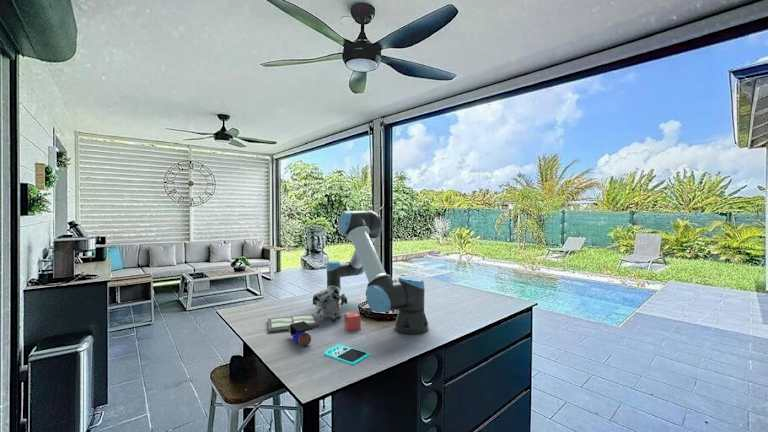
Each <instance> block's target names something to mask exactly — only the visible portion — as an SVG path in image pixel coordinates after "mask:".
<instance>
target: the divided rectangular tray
mask: <svg viewBox="0 0 768 432" xmlns="http://www.w3.org/2000/svg"><path fill="white" fill-rule="evenodd" d="M302 321H305V322H306V323H307V324H309V325H310V326H311V327H313V329H314V328H319V327H320V324H319V321H318V319H317V317H316V316H315V313H308V314H299V315H292V316H290V315H289V316H282V317H273V318H268V319H267V322H268V323H267V324H268V325H267V326H268V329H267V330H268V334H275V333H283V332H289V329H288V326H289V325H290V324H293V323H298V322H302Z"/></svg>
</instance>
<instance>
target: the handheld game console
mask: <svg viewBox="0 0 768 432" xmlns="http://www.w3.org/2000/svg"><path fill="white" fill-rule="evenodd" d="M323 353H324V356H326V357H328V358H331V359H334V360H337V361H339V362H343V363H345V364H349V365H351V366H354V365H356V364H358V363H360V362H361V361H363V360H365V359H367V358H368V357H369V356H371V354H370V353H369V352H365V351H363V350H360V349H356V348H352V347H349V346H346V345H343V344H340V343H338V344H335V345H334V346H332V347H330V348H328V349H326V350H325V351H324V352H323Z"/></svg>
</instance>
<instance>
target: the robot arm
mask: <svg viewBox="0 0 768 432" xmlns="http://www.w3.org/2000/svg"><path fill="white" fill-rule="evenodd" d="M382 230H383V220H382V218H381V216H379V214H378V213H377V212H375V211H373V210H345V211H344V210H343V212H342V213H341V214H340V216H339V219H338V232H339V234H340V235H342V236H346V238H347V240H348V241H349V242H351V243H352V245H353V247H354V249H355V250H354V251H353V254H352V256H351V258H350V261H348V263H347V262H346V263H341V261H340V260H330V261H328V262H326V289H328V288H330V289H333V290H334V293H332V295H331V297H332V298H334V299H337V301H338V304H339V305H338V306H339V310H341V307H342V306H343V305H344V304H345V305H347V304H348V297H346V294H345V293H342V294H341V293H340V292H341V290H342V289H341V287H342V285H341V278H344V277H353V276H359V275H362V274H364V273H365V276H366V279H367V281H368V283H367V286H366V287H367V288H366V291H365V299H366V302H367V305H368V307H369V308H370V309H371V311H373V312H375V313H378V314H379V313H387V312H391V311H395V310H398V312H397V316H396V319H395V322H394V329H395V331H397V332H399V333H402V334H406V335H420V334H423V333H427V331H429V321H428V319H427V315H426V313H425V290H426V288H425V281H424V280H423V279H422V278H419V277H413V276H405V275H404V276H399V277H398V281H394V279H393V278H392V277H393V276H391V275H390V274H387V272H386V270H385V268H384V265H383V264H382V262H381V259H380V257H379V254H378V253H377V250H376V248H375V245H374V242H375V240H376V239H378V238H379V237H380V236H381V233H382ZM321 302H322V301H321ZM321 302H316V301H314V300H313V299H312V305H314V306H316V309H317V310H319V308H321V307H320V303H321Z"/></svg>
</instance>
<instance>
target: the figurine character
mask: <svg viewBox="0 0 768 432" xmlns="http://www.w3.org/2000/svg"><path fill="white" fill-rule="evenodd" d="M288 329H289V331H288V333H289V334H290V337H292V340H295V341H298V344H299V345H301V346H302V347H306V346H308V345H310V344H311V342H312V336H311V334H310V333H308V332H309V331H312V330H314V328H313V327H311V326H310V325H309V324H307V323H306V322H305V321H302V322H298V323H293V324H290V325H289V326H288ZM307 331H308V332H307Z"/></svg>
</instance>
